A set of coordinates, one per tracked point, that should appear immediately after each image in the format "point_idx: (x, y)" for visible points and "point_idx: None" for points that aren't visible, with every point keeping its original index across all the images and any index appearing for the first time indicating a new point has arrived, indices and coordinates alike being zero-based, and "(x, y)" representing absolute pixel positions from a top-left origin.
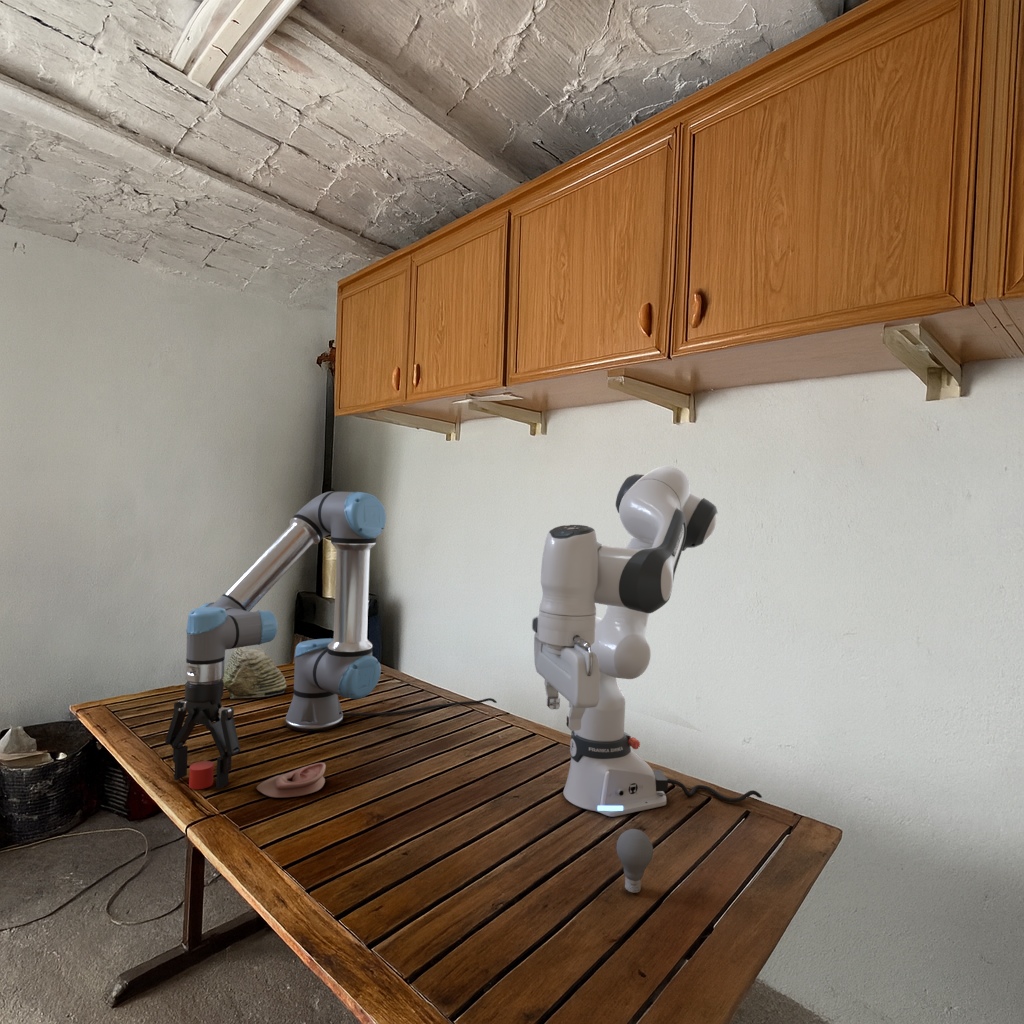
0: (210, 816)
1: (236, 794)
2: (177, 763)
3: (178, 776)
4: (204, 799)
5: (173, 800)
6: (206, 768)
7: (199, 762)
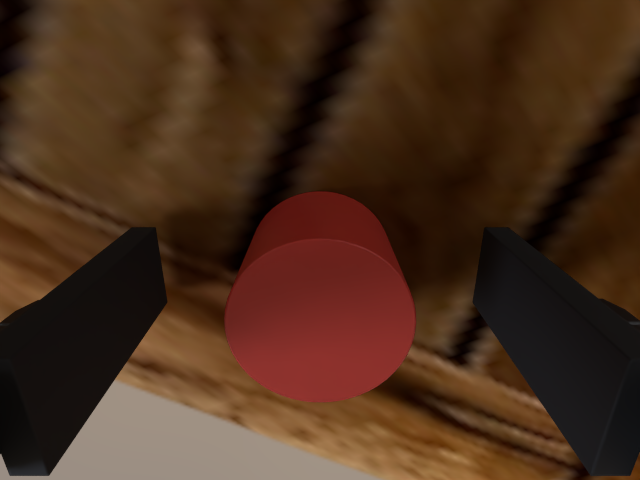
0: None
1: (604, 278)
2: (116, 374)
3: (158, 302)
4: (463, 375)
5: (325, 427)
6: (399, 354)
7: (257, 295)
